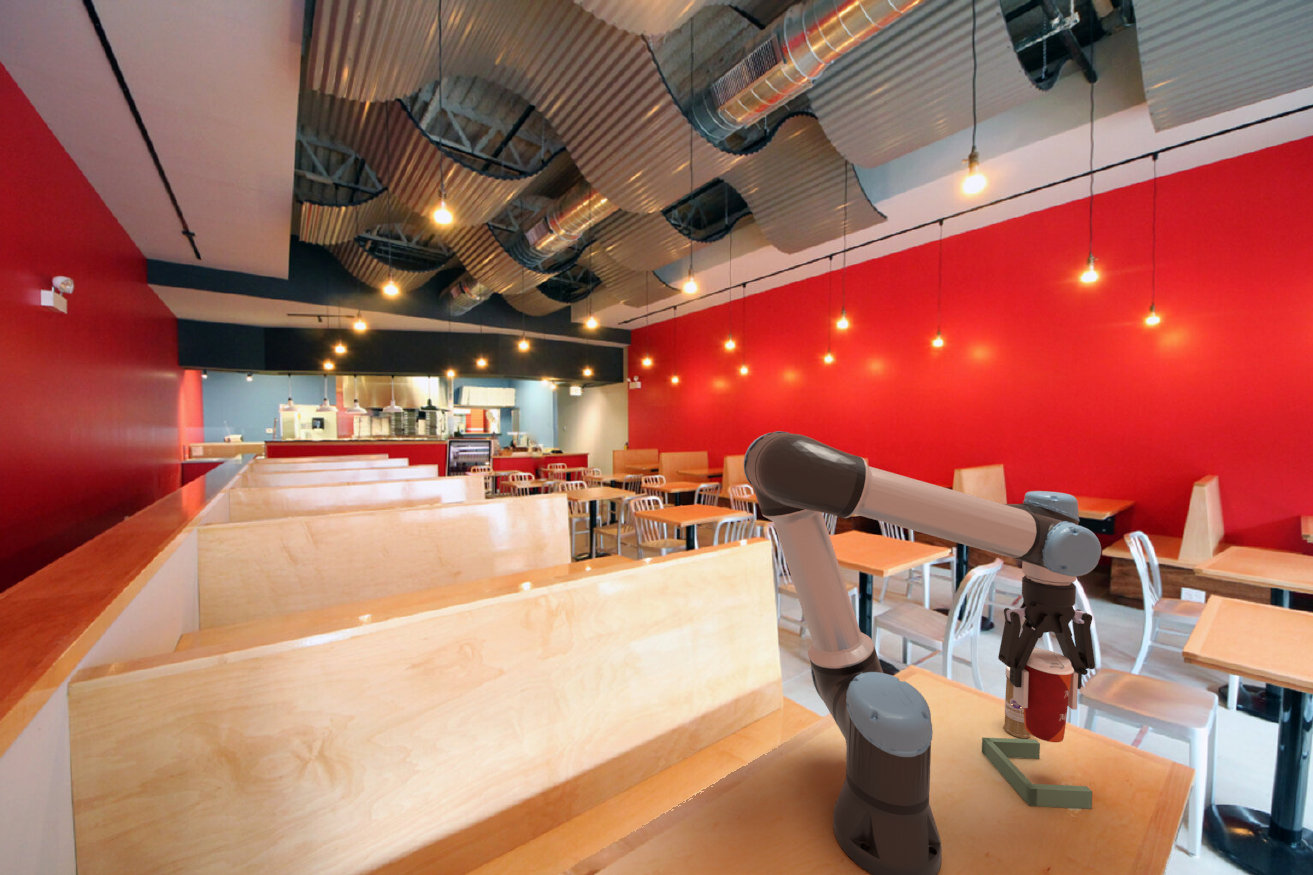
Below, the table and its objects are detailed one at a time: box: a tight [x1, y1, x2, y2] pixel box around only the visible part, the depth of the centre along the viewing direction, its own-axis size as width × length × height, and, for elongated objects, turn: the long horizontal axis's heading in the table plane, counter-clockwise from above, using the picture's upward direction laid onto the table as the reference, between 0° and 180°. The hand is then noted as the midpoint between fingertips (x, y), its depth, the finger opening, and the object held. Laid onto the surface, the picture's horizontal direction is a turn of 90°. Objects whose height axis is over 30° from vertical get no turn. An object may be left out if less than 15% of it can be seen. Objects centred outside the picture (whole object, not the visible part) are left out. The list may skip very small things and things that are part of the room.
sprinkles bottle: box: [1003, 665, 1031, 739], centre depth 103 cm, size 5×5×14 cm
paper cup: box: [1024, 647, 1074, 743], centre depth 89 cm, size 8×8×14 cm
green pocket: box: [981, 736, 1093, 810], centre depth 90 cm, size 10×13×3 cm
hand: (1044, 704), depth 89 cm, fingers closed on paper cup, 8 cm apart
